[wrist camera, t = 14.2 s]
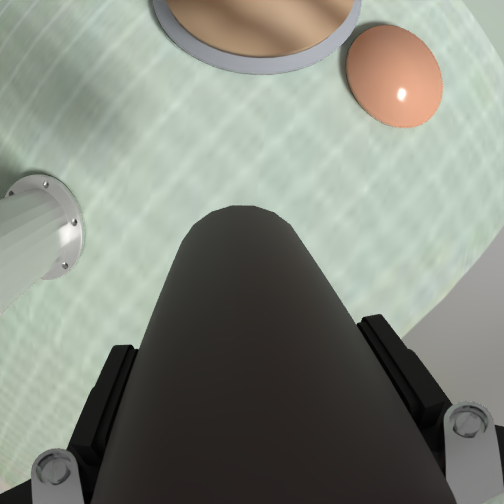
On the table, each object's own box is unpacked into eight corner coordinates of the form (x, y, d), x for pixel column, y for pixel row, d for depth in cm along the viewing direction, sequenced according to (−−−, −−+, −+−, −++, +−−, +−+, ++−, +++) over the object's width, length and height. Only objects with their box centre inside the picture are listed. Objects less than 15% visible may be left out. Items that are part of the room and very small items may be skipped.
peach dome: (351, 127, 31) (355, 127, 30) (338, 22, 27) (341, 20, 26) (442, 129, 31) (446, 129, 30) (430, 35, 27) (434, 33, 26)
